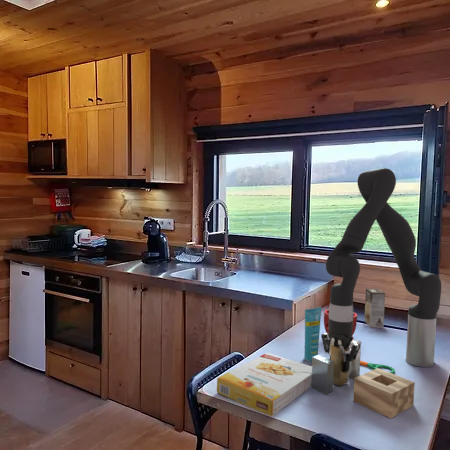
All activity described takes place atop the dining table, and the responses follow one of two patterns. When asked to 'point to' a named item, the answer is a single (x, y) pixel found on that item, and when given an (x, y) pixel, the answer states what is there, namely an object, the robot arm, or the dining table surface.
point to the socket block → (384, 392)
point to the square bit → (338, 366)
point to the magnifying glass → (377, 366)
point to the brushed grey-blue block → (322, 374)
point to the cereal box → (266, 383)
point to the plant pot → (326, 321)
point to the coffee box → (374, 307)
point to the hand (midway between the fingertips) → (339, 369)
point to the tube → (312, 332)
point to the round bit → (355, 364)
